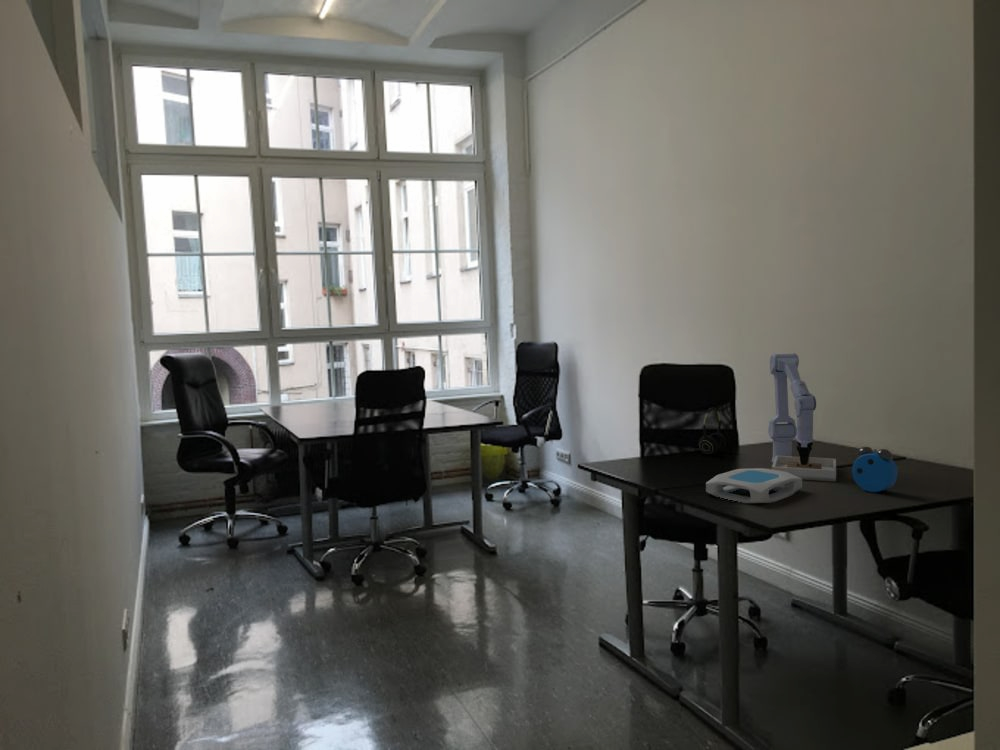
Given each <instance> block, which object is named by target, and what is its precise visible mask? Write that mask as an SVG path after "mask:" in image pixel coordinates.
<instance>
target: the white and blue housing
mask: <svg viewBox="0 0 1000 750" xmlns="http://www.w3.org/2000/svg"><path fill="white" fill-rule="evenodd" d="M802 488H803V479H802V478H800V477H797V476H795V475H792V474H790V473H788V472H784V471H778V470H772V468H761V467H760V468H759V467H757V468H756V467H755V468H737V469H733V470H730V471H726V472H723V473H719V474H717V475H715V476H713V478H711V479H710V480H708V481H706V482H705V491H706V493H708V494H710V495H712V496H714V497H716V498H718V497H720V498H719V499H721V498H724V499H728V500H727V501H729V500H733V501H732V502H734V501H738V502H737V503H740V502H742V503H741V504H771V503H776V502H778V501H780V500H783V499H785V498H788V497H790V496H793V495H795V494H796V493H797V492H798V491H799V490H801V489H802ZM736 490H737V491H739V490H747V491H748V492H749V494H750V495H749V496H750V497H749V496H747V495H740V494H736V493H733V491H734V492H737V491H736ZM771 490H772V491H775V492H773V493H770V491H771ZM729 492H731V493H729ZM769 493H770V494H769ZM724 499H723V500H724Z"/></svg>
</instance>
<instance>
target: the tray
mask: <svg viewBox="0 0 1000 750" xmlns="http://www.w3.org/2000/svg"><path fill="white" fill-rule="evenodd" d="M788 461H791V462H799V456H775V459H774V462H772V464H771V470H778V471H784V472H788V473H790V474H792V475H795V476H797V477H800V478H802V481H803V480H805V481H807V480H808V481H818V482H819V481H820V482H821V481H822V482H837V458H831V457H830V458H829V457H812V456H811V457H810V456H809V462H810V463H822V469H808V468H791V467H787V465H788Z"/></svg>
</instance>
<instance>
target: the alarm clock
mask: <svg viewBox="0 0 1000 750" xmlns="http://www.w3.org/2000/svg"><path fill="white" fill-rule="evenodd" d="M872 451H873V452H872ZM857 455H858V456H859V457H857V458H856V459H855V461H854V462H853V464H852V468H851V469H852V476H853V480H854V482H855V483H856V484H857V485H858V486H859V487H860V488H861V489H862V490H864V491H866V492H870V493H879V492H882V491H886V492H889V491H888V489H889V488H892V487H893V486H894V484H895V483H896V481H897V479H898V475H899V474H898V473H899V472H898V467H897V464H896V462H895V461H894V460H893V454H892V452H891V451H890V450H889V449H887V448H886V449H885V448H880V449H879V450H878V449H876V448H875V449H874V448H873V449H872V448H871V447H869V446H861V447H860V448H859V449H858V450H857Z"/></svg>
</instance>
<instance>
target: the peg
mask: <svg viewBox="0 0 1000 750" xmlns="http://www.w3.org/2000/svg"><path fill="white" fill-rule="evenodd" d="M798 457H799V467H809V459H808V463H807V465H801V462H800V456H798Z"/></svg>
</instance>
